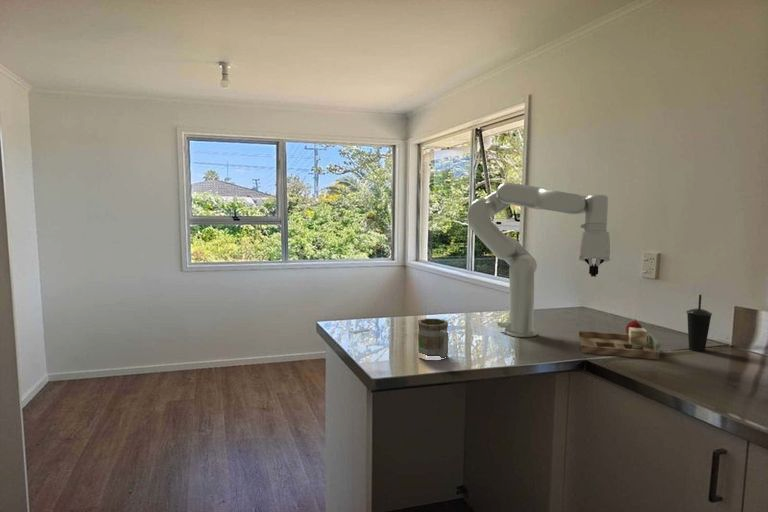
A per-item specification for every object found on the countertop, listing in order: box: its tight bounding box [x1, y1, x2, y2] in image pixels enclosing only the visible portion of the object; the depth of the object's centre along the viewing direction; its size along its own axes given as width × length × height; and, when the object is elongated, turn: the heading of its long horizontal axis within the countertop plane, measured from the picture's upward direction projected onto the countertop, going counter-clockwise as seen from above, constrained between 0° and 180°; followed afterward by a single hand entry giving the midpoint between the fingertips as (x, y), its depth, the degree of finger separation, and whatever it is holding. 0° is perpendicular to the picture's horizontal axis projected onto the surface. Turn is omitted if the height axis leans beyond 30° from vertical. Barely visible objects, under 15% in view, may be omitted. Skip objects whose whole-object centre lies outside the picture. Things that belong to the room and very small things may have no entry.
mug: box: [417, 318, 450, 358], centre depth 159 cm, size 16×11×12 cm
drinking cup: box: [686, 294, 713, 353], centre depth 167 cm, size 8×8×20 cm
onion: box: [625, 318, 643, 334], centre depth 182 cm, size 6×6×8 cm
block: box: [628, 327, 648, 346], centre depth 168 cm, size 5×5×5 cm
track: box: [578, 330, 661, 360], centre depth 167 cm, size 24×14×6 cm, turn 71°
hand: (593, 276), depth 178 cm, fingers closed
